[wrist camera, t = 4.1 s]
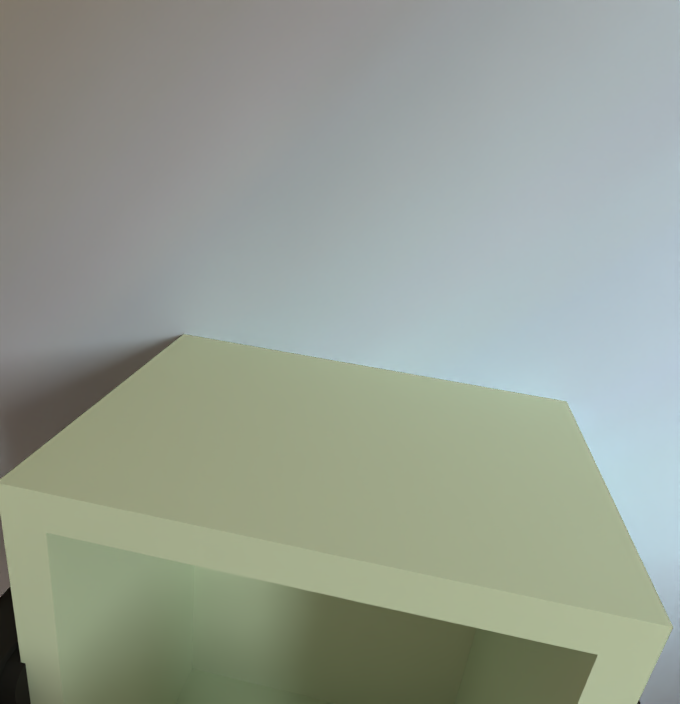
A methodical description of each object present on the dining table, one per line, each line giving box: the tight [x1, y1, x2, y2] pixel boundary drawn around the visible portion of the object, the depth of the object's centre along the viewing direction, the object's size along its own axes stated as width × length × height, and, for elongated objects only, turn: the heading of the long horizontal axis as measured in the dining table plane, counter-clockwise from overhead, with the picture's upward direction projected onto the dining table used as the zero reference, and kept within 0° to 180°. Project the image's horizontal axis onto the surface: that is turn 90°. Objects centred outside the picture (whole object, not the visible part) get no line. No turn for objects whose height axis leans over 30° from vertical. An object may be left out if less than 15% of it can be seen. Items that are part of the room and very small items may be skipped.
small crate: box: [0, 334, 673, 704], centre depth 9 cm, size 6×8×4 cm
